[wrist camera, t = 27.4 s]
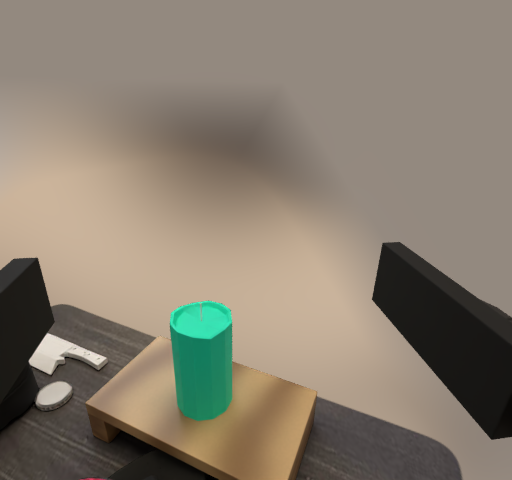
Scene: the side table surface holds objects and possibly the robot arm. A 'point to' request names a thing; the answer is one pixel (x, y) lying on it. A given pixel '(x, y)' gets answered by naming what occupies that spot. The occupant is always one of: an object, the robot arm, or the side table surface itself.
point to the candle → (202, 358)
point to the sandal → (156, 469)
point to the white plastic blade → (62, 354)
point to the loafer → (19, 396)
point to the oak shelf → (214, 430)
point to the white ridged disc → (53, 395)
